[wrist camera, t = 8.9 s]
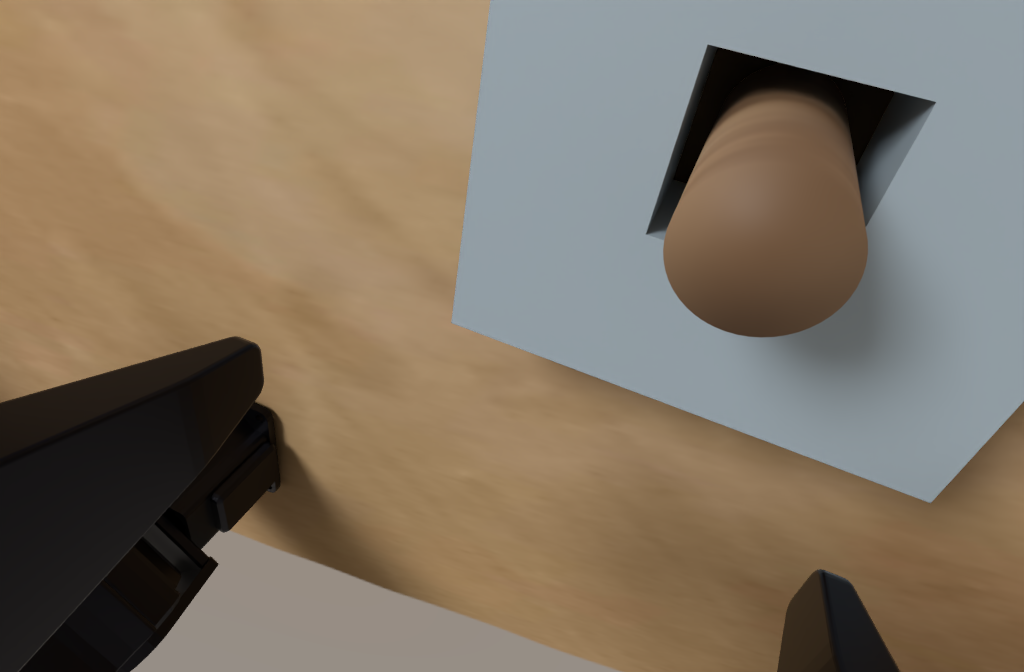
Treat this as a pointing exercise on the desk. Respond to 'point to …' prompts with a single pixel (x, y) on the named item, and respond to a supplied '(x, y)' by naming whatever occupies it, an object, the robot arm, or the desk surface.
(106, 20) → the desk surface
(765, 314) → the peg
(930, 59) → the socket block
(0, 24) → the desk surface
